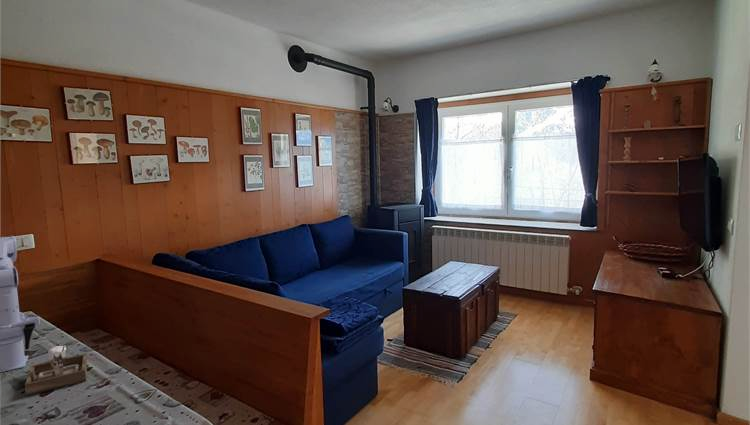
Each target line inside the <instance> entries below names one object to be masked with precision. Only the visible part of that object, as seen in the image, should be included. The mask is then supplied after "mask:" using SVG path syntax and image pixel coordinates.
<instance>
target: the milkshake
mask: <svg viewBox="0 0 750 425" xmlns="http://www.w3.org/2000/svg"><path fill="white" fill-rule="evenodd" d="M47 355H48V358H49V362H50V363H51V368H52V374H53V377H55V376H59V375H64V374H66V358H67V347H66V345H65V344H64V345H57V346H54V347H52V348H50V349H49V350H48V351H47Z"/></svg>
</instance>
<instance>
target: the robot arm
mask: <svg viewBox="0 0 750 425" xmlns="http://www.w3.org/2000/svg"><path fill="white" fill-rule="evenodd" d="M17 244H18V243H17V238H16V237H15V236H14V235H11V236H1V237H0V373H4V372H7V371H13V370H18V369H21V368H25V367H26V364H27V362H28V359H29V355H25V350H29V348H30V342H31V338H32V335H33V332H34V329H35V328H36V325H37V326H38V325H40V323H41V321H40V320H41V318H40V316H35V317H34V316H33V317H25V316H26V315H25V314H24V313H23V312H21V311H20V305H19V295H18V294H19V293H18V286H19V273H18V270H17V268H16V266H14V263H15V262H16V261H17V258H18V245H17Z"/></svg>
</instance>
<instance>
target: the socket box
mask: <svg viewBox="0 0 750 425" xmlns="http://www.w3.org/2000/svg"><path fill="white" fill-rule="evenodd" d="M87 368H88V359H87V353H84V354H79V355H73V356H69V357H66V374H64V375H59V376H55V377H53V374H52V368H51V363H50V361H48V362H46V361H45V362H42V363H37V364H34V365H31V367H30V370H29V372H28V375H27V378H26V380H25V382H24V392H25V397H29V396H33V395H37V394H40V393H44V392H48V391H52V390H56V389H60V388H64V387H68V386H72V385H76V384H81V383H84V382H86V381H87V371H88V369H87Z"/></svg>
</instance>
